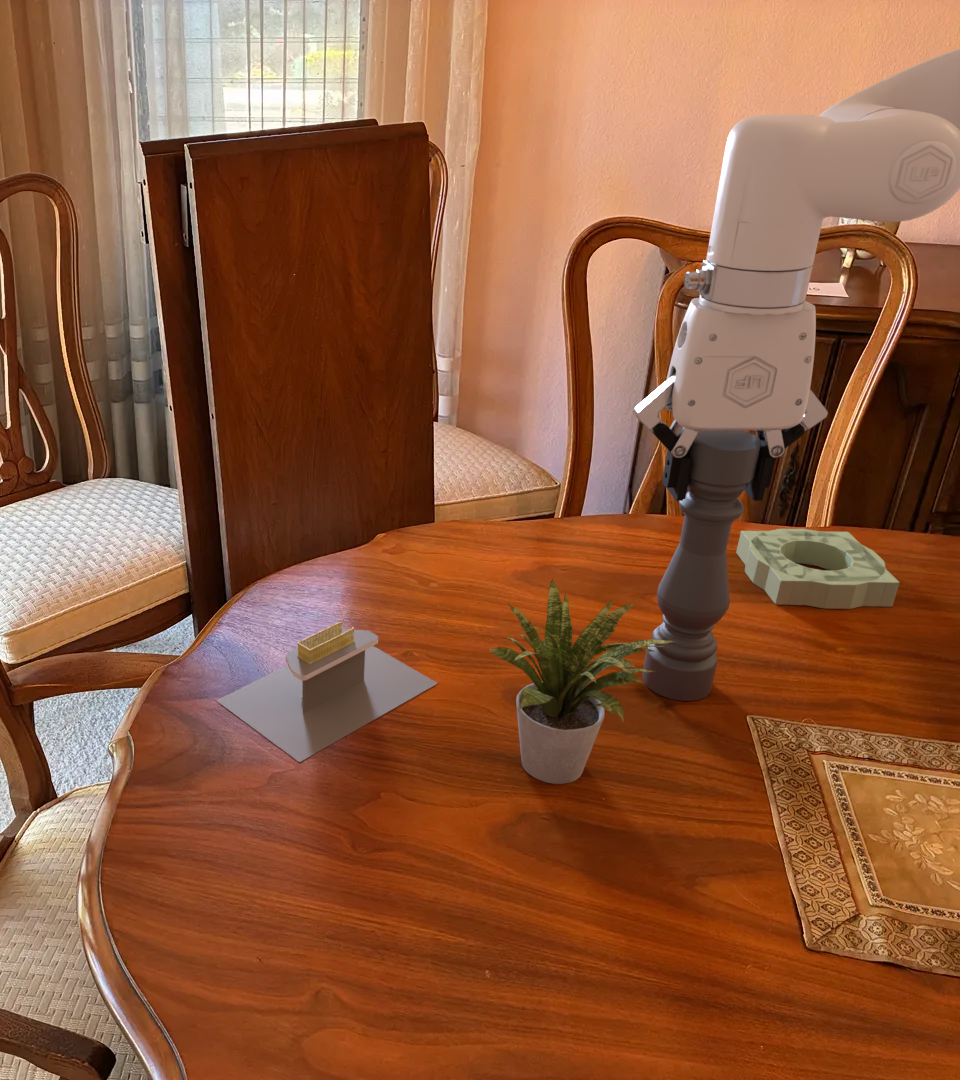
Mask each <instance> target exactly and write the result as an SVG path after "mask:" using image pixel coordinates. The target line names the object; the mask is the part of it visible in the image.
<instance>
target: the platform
mask: <svg viewBox="0 0 960 1080" xmlns="http://www.w3.org/2000/svg"><path fill="white" fill-rule="evenodd" d="M378 643H379V636H378V634H377V633H374V632H372V631H370V630H365V629H355V627H354V626H351V627H350V628H343V622H342V621H338V622H335V623H334V624H332V625H330V626H328V627H325V628H324V629H322V630H319V631H317V632H315V633H313V634H311V635H309V636H307V637H304V638H303V639H301V640H299V641H297V642H296V644H297V647H295V648H294V649H292V650H289V651H288V652H287V653H286V654H285V663H286V665H285V666H283V667H280V668H279V669H277V670H275V671H273V672H271V673H269V674H267V675H264V676H263V677H260V678H258V679H257V680H254V681H252V682H250V683H248V684H246V685H245V686H242V687H241V688H237V689H236V690H235V691H233V692H230V693H228V694H226V695H224V696H222V697H220V698H218V699H216V702H217V703H219V704H220V705H221V706H223V707H224V708H225V709H227V710H228V711H229V712H231V713H232V714H234V715H235V716H236V717H238V718H239V719H240V720H242V722H244V723H245V724H247V725H248V726H250V727H251V728H252V729H254V730H255V731H256V732H258V733H260V735H262V736H263V737H264V738H266V739H267V740H268V741H270V743H272V744H274V745H275V746H277V748H279V749H281V750H282V751H283V752H285V754H287V755H289V756H290V757H291V758H292V759H294V760H296V762H298V763H301V762H303V761H305V760H306V759H308V758H310V757H312V756H313V755H315V754H317V753H319V752H320V751H322V750H324V749H326V748H327V747H329V746H331V745H332V744H335V743H336V742H338V741H339V740H341V739H343V738H345V737H346V736H348V735H350V734H352V733H354V732H355V731H357V730H359V729H361V728H362V727H364V726H366V725H368V724H369V723H371V722H373V721H375V720H376V719H379V718H380V717H382V716H383V715H385V714H387V713H389V712H390V711H392V710H394V709H395V708H397V707H399V706H401V705H403V704H405V703H406V702H408V701H410V700H412V699H413V698H415V697H416V696H418V695H420V694H422V693H424V692H425V691H427V690H429V689H431V688H433V687H434V686H436V685H438V682H437V681H435V680H434V679H432V678H430V677H429V676H427V675H425V674H424V673H421V672H419V671H418V670H416V669H414V668H412V667H411V666H409V665H408V664H405V663H404V662H403V661H401V660H399V659H397V658H395V657H393V656H392V655H390V654H389V653H386V652H385V651H383V650H381V649H379V648H378V647H376V646H375V645H377V644H378Z"/></svg>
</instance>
